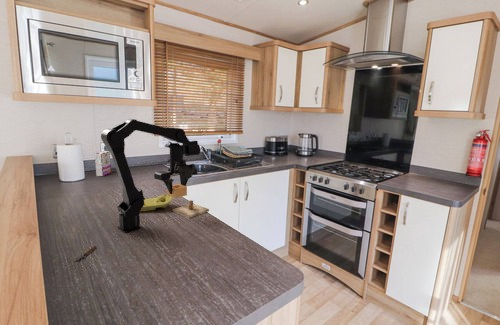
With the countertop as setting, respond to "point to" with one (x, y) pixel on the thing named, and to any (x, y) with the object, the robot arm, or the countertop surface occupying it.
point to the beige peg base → (190, 210)
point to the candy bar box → (102, 163)
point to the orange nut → (178, 191)
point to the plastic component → (156, 202)
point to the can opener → (86, 253)
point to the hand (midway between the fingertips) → (177, 192)
